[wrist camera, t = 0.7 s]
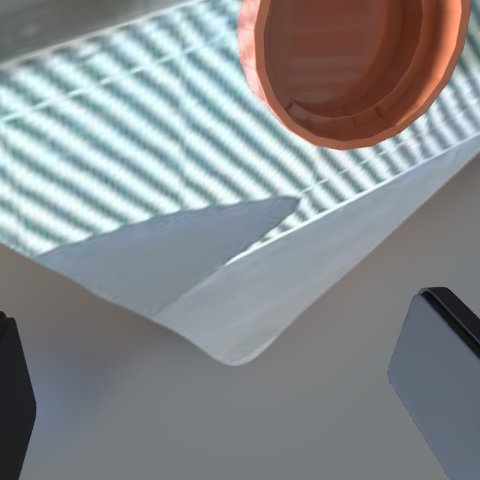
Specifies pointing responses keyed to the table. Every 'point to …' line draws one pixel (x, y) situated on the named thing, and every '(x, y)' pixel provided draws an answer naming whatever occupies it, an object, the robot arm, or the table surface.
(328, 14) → the basin
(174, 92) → the table surface
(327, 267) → the table surface
